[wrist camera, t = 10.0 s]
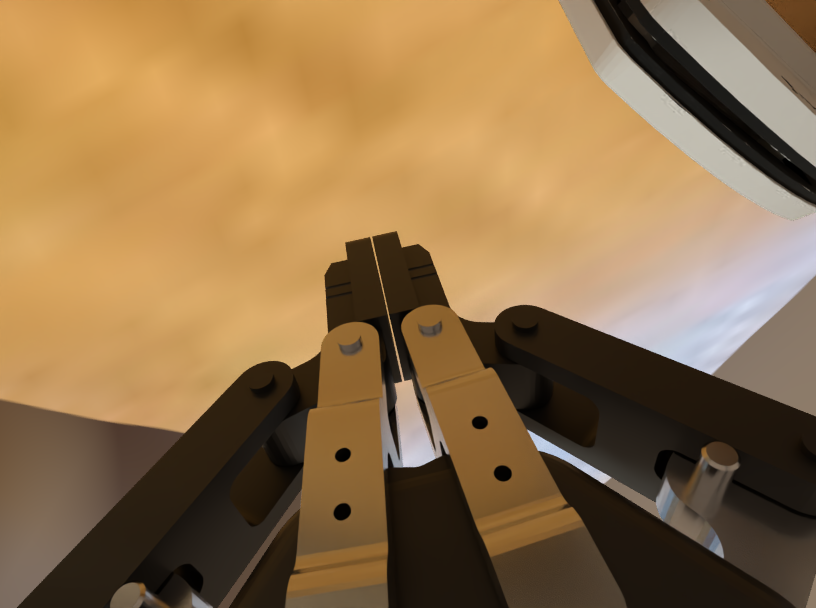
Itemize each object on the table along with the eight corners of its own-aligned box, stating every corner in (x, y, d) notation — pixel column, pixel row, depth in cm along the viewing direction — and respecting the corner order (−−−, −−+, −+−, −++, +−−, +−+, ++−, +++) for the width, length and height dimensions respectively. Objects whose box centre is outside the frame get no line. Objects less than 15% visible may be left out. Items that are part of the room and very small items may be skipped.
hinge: (831, 69, 27) (948, 193, 21) (744, 133, 30) (824, 257, 24) (626, -145, 20) (715, -48, 14) (542, -30, 23) (585, 87, 17)
